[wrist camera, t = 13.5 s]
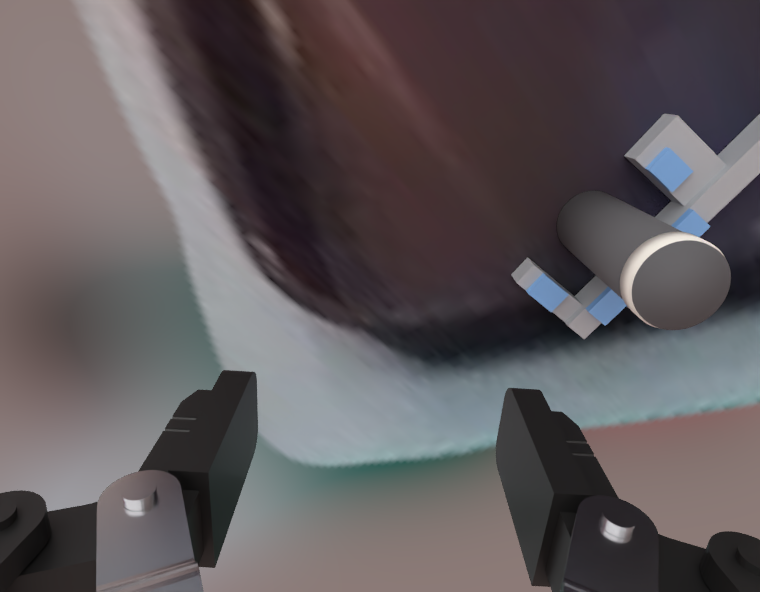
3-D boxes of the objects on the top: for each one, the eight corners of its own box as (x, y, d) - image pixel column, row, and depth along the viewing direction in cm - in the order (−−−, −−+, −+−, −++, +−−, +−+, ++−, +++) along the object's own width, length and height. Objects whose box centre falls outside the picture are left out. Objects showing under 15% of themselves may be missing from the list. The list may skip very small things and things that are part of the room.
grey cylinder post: (591, 174, 32) (689, 219, 22) (638, 218, 33) (753, 280, 23) (540, 228, 33) (611, 294, 23) (587, 268, 34) (675, 349, 24)
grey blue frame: (807, -38, 28) (846, -48, 25) (870, 39, 29) (912, 36, 27) (511, 274, 34) (520, 288, 32) (573, 325, 36) (587, 342, 33)
